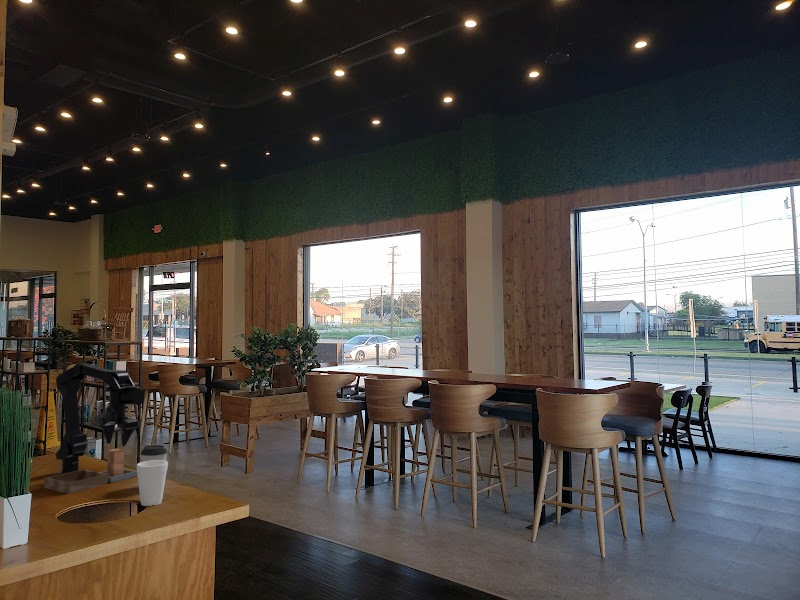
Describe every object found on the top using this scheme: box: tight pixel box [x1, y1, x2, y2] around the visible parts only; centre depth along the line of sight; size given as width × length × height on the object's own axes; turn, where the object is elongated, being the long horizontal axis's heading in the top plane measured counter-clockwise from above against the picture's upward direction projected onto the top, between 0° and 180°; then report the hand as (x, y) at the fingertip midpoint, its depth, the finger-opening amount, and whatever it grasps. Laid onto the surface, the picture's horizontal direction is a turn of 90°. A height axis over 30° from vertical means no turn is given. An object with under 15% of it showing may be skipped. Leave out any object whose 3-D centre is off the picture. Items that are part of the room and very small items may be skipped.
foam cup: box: [136, 460, 169, 507], centre depth 193 cm, size 10×9×13 cm
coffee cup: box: [140, 444, 168, 462], centre depth 211 cm, size 9×9×15 cm
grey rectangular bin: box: [99, 468, 138, 484], centre depth 222 cm, size 11×11×2 cm
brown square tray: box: [43, 468, 108, 495], centre depth 210 cm, size 15×15×4 cm
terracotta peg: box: [106, 448, 125, 477], centre depth 222 cm, size 4×4×10 cm
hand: (116, 444), depth 222 cm, fingers open, 9 cm apart
